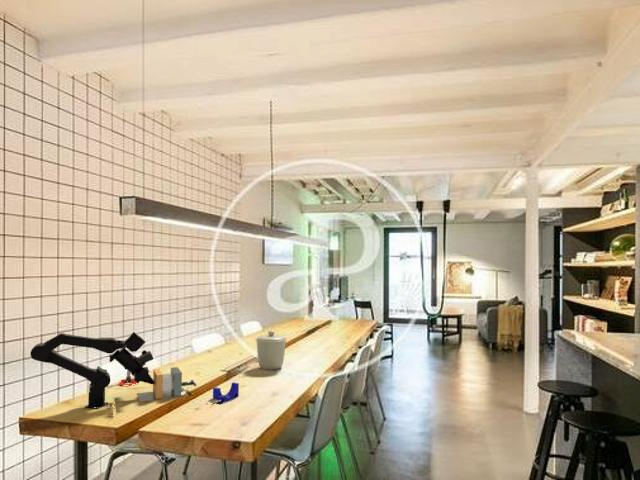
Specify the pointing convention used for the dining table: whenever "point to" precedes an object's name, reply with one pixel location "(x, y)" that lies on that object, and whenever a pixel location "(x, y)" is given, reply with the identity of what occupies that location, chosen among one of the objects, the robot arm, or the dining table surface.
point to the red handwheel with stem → (127, 379)
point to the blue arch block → (224, 398)
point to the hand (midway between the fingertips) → (154, 383)
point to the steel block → (166, 385)
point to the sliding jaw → (157, 383)
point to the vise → (175, 387)
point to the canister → (271, 350)
